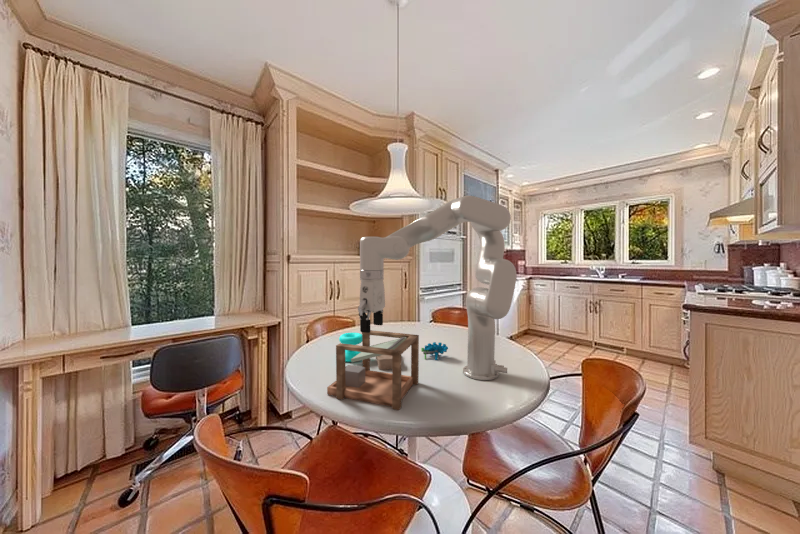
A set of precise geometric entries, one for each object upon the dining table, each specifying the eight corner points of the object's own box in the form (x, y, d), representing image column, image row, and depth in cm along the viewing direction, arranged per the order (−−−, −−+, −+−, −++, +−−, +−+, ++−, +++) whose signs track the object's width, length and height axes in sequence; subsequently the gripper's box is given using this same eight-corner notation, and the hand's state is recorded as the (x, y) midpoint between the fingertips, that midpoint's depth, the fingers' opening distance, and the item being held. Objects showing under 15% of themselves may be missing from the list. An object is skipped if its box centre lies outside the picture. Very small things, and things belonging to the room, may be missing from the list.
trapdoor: (407, 339, 105) (405, 335, 105) (391, 352, 92) (390, 348, 92) (371, 348, 110) (369, 345, 110) (351, 362, 97) (350, 358, 97)
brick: (400, 369, 120) (400, 357, 120) (378, 370, 119) (378, 358, 118) (394, 355, 136) (394, 344, 136) (375, 356, 135) (375, 345, 135)
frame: (418, 382, 108) (418, 335, 107) (398, 410, 89) (399, 353, 88) (354, 373, 116) (354, 328, 115) (324, 396, 97) (324, 344, 96)
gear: (448, 351, 136) (446, 339, 128) (449, 364, 132) (447, 353, 124) (423, 353, 138) (419, 342, 130) (423, 366, 134) (419, 355, 126)
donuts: (336, 333, 133) (359, 330, 137) (336, 356, 133) (359, 353, 138) (342, 339, 124) (366, 336, 128) (342, 364, 124) (366, 360, 129)
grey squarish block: (365, 367, 106) (348, 364, 108) (358, 372, 101) (340, 370, 104) (365, 381, 106) (348, 378, 109) (358, 387, 102) (341, 384, 104)
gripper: (371, 278, 91) (371, 336, 92) (392, 273, 107) (392, 323, 108) (348, 277, 94) (348, 334, 95) (372, 273, 110) (372, 321, 111)
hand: (372, 328), depth 102 cm, fingers open, 9 cm apart
